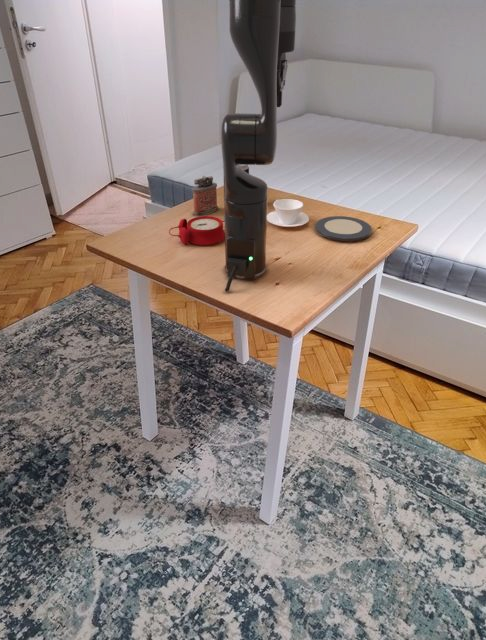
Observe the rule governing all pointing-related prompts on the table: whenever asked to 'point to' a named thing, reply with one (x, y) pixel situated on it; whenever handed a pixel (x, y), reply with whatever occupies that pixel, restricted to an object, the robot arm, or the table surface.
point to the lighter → (204, 196)
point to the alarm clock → (201, 230)
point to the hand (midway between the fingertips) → (277, 106)
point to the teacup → (288, 213)
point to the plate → (343, 228)
